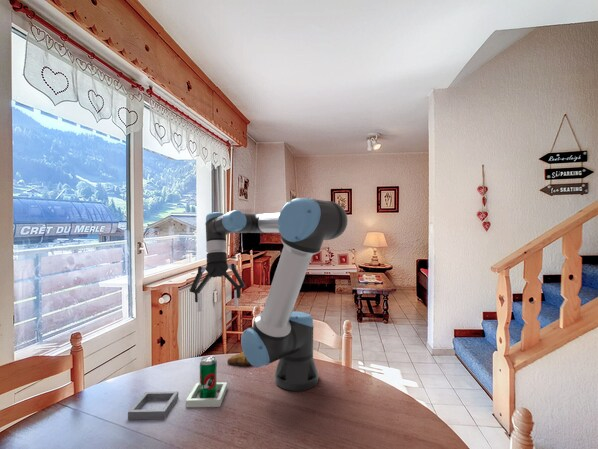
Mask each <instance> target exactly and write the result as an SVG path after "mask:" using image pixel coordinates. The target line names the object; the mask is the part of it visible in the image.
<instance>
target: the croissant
mask: <svg viewBox="0 0 598 449" xmlns="http://www.w3.org/2000/svg"><path fill="white" fill-rule="evenodd" d="M227 364H229V365H232V366H249V365H250V366H252V365H251V364H250V363H249V362H248V360H247V359H246V357H245V355H244V353H243V351H240V353H238V354H237V353H236V354H235V355H232V356H231V357H229V358H227Z"/></svg>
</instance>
